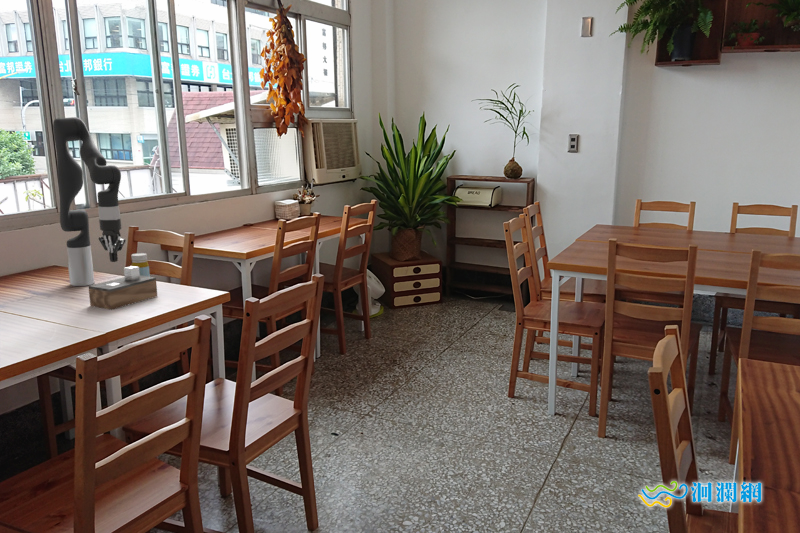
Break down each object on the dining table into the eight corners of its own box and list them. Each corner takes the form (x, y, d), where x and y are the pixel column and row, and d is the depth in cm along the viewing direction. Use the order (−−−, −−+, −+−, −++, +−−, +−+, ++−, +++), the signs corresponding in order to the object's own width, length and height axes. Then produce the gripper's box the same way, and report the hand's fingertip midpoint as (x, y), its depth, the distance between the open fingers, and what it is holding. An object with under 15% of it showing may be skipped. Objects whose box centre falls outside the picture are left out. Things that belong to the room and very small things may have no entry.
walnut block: (90, 305, 233) (88, 285, 231) (136, 292, 252) (135, 274, 251) (111, 309, 228) (109, 289, 226) (157, 296, 247) (155, 277, 245)
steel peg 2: (125, 284, 242) (123, 267, 240) (133, 282, 245) (131, 265, 244) (132, 285, 240) (130, 268, 239) (140, 283, 244) (138, 266, 242)
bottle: (138, 290, 256) (135, 256, 253) (130, 288, 260) (127, 254, 257) (153, 287, 261) (151, 254, 258) (145, 285, 265) (142, 252, 262)
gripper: (89, 217, 230) (94, 261, 233) (113, 220, 224) (117, 265, 228) (106, 215, 236) (110, 258, 240) (129, 217, 230) (133, 261, 234)
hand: (114, 261), depth 234 cm, fingers closed
